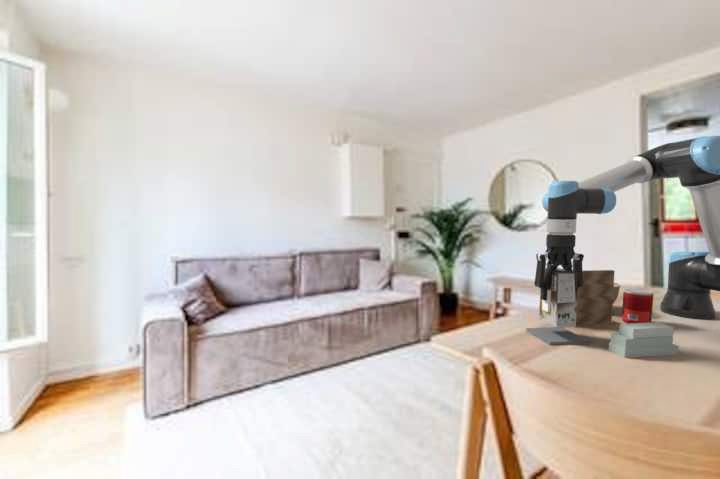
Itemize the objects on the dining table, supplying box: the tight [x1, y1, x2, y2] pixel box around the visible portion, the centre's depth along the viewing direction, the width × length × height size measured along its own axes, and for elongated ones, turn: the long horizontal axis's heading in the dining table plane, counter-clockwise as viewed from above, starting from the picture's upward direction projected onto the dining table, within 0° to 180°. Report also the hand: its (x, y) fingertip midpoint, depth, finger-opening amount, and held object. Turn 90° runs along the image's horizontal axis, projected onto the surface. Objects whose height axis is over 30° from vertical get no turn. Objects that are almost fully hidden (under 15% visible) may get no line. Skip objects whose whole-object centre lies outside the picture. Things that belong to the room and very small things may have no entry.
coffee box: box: [538, 267, 578, 329], centre depth 107 cm, size 9×6×16 cm
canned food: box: [621, 288, 654, 324], centre depth 121 cm, size 8×8×11 cm
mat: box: [525, 326, 590, 346], centre depth 108 cm, size 12×12×1 cm
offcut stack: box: [608, 321, 679, 358], centre depth 96 cm, size 16×5×8 cm, turn 98°
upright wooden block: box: [576, 269, 615, 325], centre depth 122 cm, size 20×6×18 cm, turn 96°
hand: (557, 310), depth 107 cm, fingers closed on coffee box, 6 cm apart
